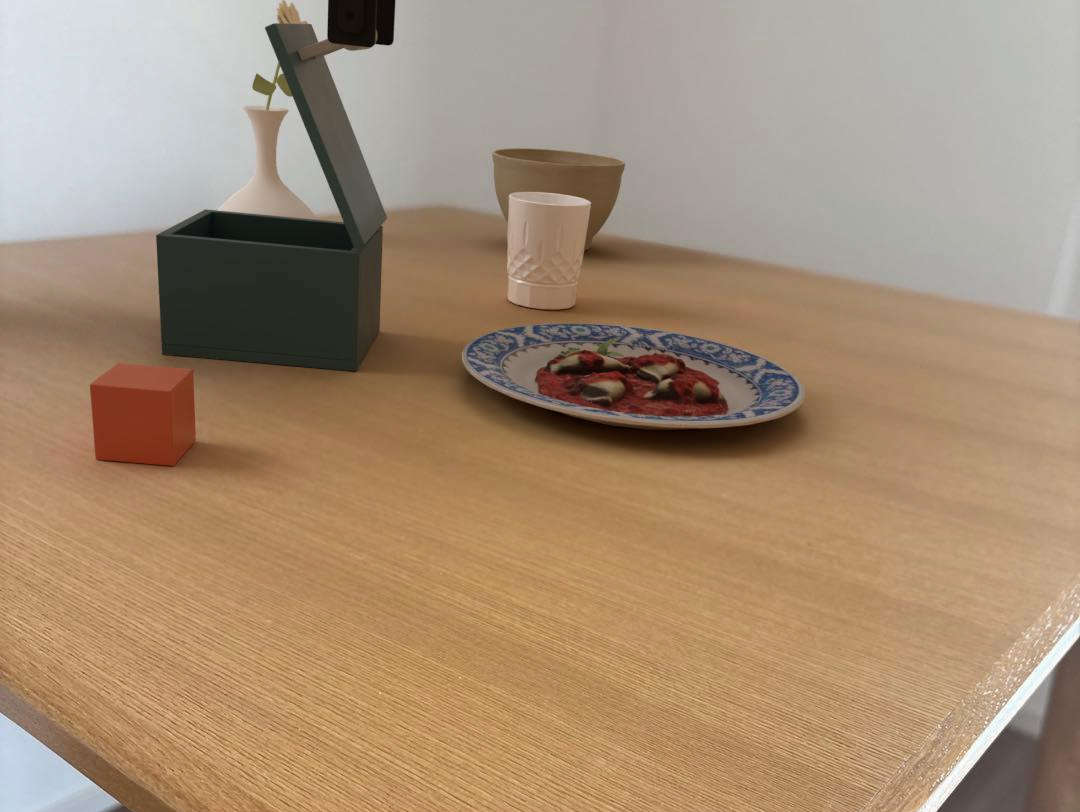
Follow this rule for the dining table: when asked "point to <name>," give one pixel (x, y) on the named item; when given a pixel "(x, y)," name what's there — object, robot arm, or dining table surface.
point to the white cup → (545, 248)
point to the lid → (328, 125)
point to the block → (143, 414)
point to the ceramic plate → (633, 376)
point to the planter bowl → (560, 179)
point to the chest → (268, 290)
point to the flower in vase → (269, 150)
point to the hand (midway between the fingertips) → (362, 44)
